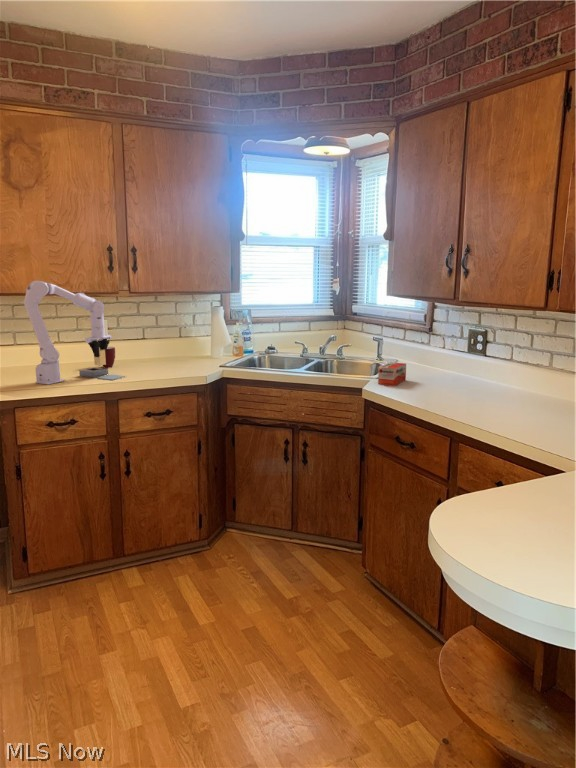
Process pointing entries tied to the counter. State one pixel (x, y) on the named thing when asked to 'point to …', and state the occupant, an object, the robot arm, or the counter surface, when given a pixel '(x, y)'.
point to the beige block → (100, 358)
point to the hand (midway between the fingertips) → (100, 356)
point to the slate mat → (110, 377)
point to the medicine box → (392, 373)
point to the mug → (109, 357)
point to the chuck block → (93, 372)
